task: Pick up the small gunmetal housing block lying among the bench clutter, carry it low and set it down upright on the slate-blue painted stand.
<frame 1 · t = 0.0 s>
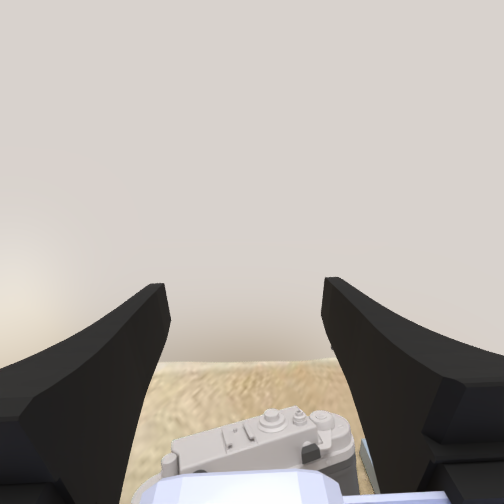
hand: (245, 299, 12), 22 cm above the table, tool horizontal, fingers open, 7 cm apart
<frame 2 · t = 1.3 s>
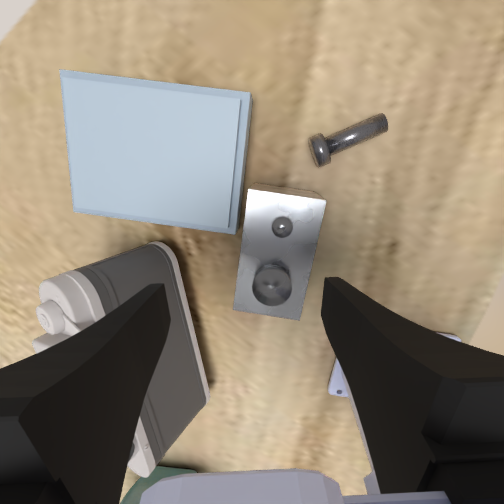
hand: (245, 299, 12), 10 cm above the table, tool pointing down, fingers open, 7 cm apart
flower pot: (177, 478, 32), on the table
stand: (165, 158, 20), on the table
camera: (149, 323, 25), on the table
housing: (275, 237, 21), on the table
bolt a: (350, 136, 18), on the table
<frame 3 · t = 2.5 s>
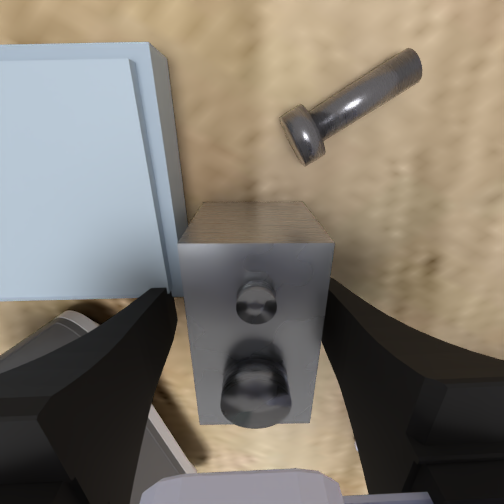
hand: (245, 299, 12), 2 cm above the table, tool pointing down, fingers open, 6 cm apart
stand: (44, 186, 12), on the table
camera: (102, 405, 18), on the table
housing: (252, 277, 14), on the table
bolt a: (352, 101, 10), on the table
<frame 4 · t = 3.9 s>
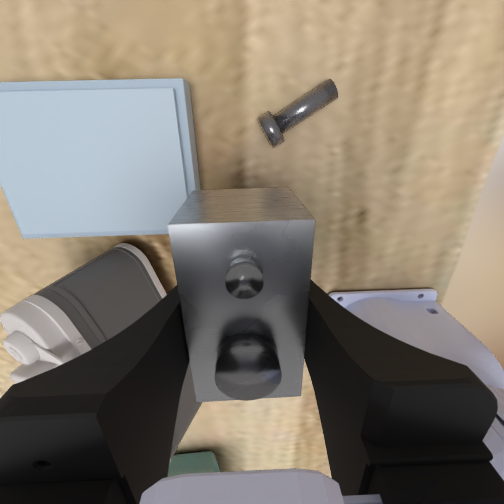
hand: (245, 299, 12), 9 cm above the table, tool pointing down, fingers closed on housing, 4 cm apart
flower pot: (197, 460, 34), on the table
stand: (108, 163, 18), on the table
camera: (136, 325, 24), on the table
housing: (243, 263, 14), point 7 cm above the table, touching gripper
bolt a: (301, 108, 17), on the table
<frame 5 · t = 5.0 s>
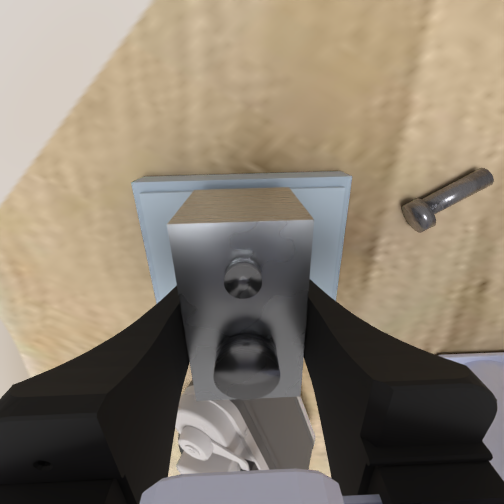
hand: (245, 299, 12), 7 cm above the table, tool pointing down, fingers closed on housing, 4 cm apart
stand: (245, 241, 18), on the table
camera: (238, 380, 24), on the table
housing: (244, 263, 14), point 4 cm above the table, touching gripper
bolt a: (445, 192, 17), on the table
when the fingers open (5 cm above the table, at t = 5.7 s): housing stays where it is, resting on stand.
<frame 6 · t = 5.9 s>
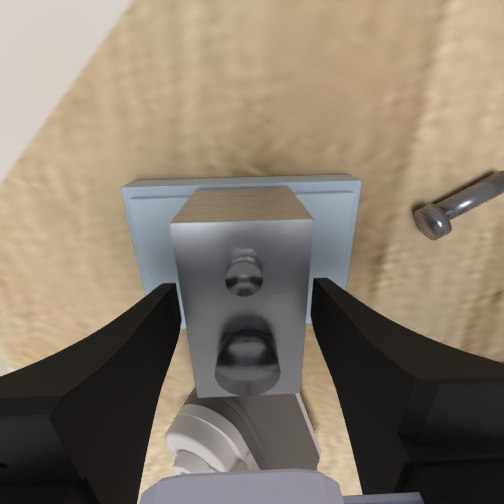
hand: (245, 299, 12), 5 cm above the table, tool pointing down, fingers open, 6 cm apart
stand: (244, 249, 17), on the table
camera: (239, 391, 23), on the table
housing: (245, 262, 15), point 2 cm above the table, touching stand
bolt a: (460, 196, 16), on the table
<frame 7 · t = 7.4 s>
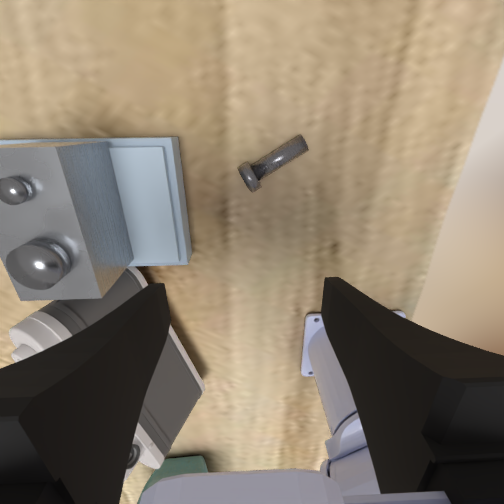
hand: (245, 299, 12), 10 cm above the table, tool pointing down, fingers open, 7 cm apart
flower pot: (188, 464, 36), on the table
stand: (106, 202, 20), on the table
camera: (133, 333, 26), on the table, touching stand
housing: (88, 206, 18), point 2 cm above the table, touching stand
bolt a: (277, 157, 19), on the table
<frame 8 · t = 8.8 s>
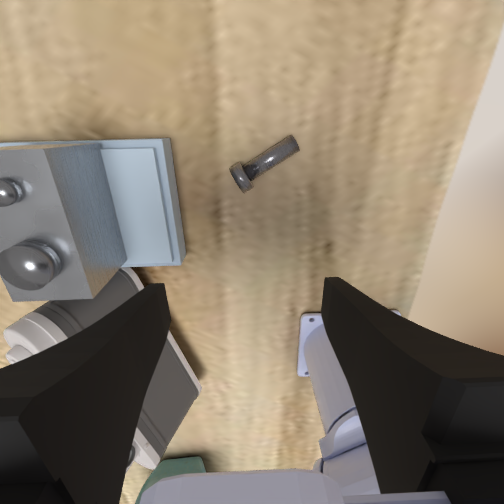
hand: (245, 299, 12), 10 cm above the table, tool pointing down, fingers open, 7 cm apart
flower pot: (186, 465, 36), on the table
stand: (100, 203, 20), on the table
camera: (130, 334, 26), on the table
housing: (80, 207, 18), point 2 cm above the table, touching stand
bolt a: (269, 157, 19), on the table
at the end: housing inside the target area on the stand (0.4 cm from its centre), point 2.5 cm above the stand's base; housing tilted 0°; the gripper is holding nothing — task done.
